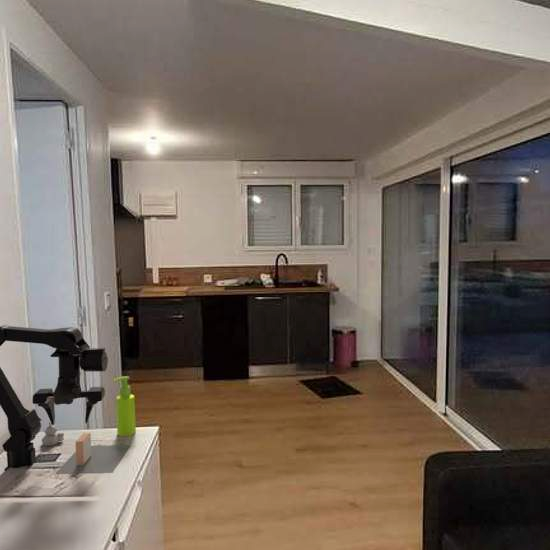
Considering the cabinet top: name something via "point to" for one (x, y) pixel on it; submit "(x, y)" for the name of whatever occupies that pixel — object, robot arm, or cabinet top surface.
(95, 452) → the slate board
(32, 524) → the cabinet top surface
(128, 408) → the soap dispenser
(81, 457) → the tile
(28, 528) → the cabinet top surface
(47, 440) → the grey lumpy pointed piece
